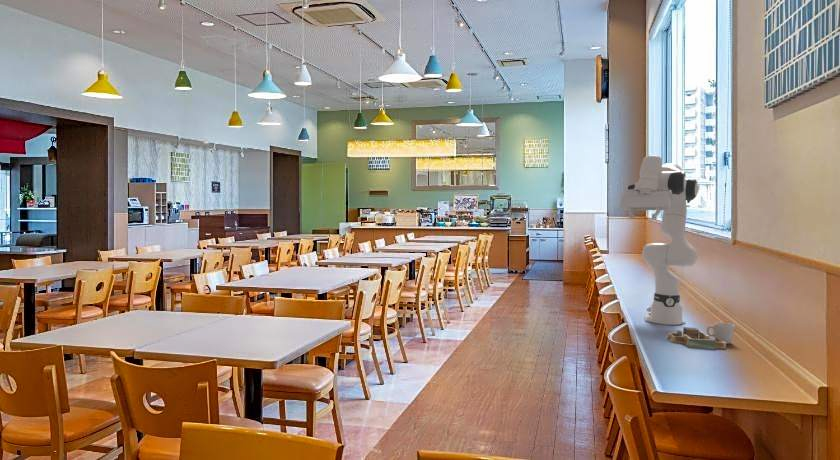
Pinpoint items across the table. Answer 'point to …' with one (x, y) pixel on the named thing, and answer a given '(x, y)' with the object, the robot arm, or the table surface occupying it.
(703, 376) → the table surface
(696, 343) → the wooden flat frame
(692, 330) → the block
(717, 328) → the cup
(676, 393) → the table surface
